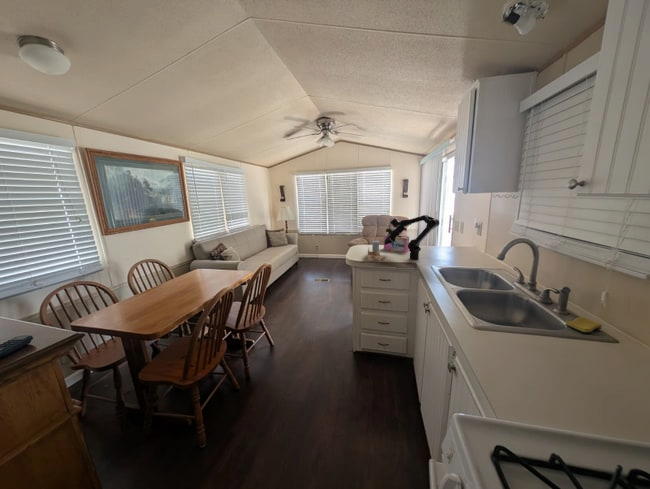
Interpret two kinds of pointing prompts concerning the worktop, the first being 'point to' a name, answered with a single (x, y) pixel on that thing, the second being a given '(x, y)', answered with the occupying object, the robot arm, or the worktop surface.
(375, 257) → the kraft carton
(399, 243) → the gum box
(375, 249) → the slate block
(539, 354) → the worktop surface
